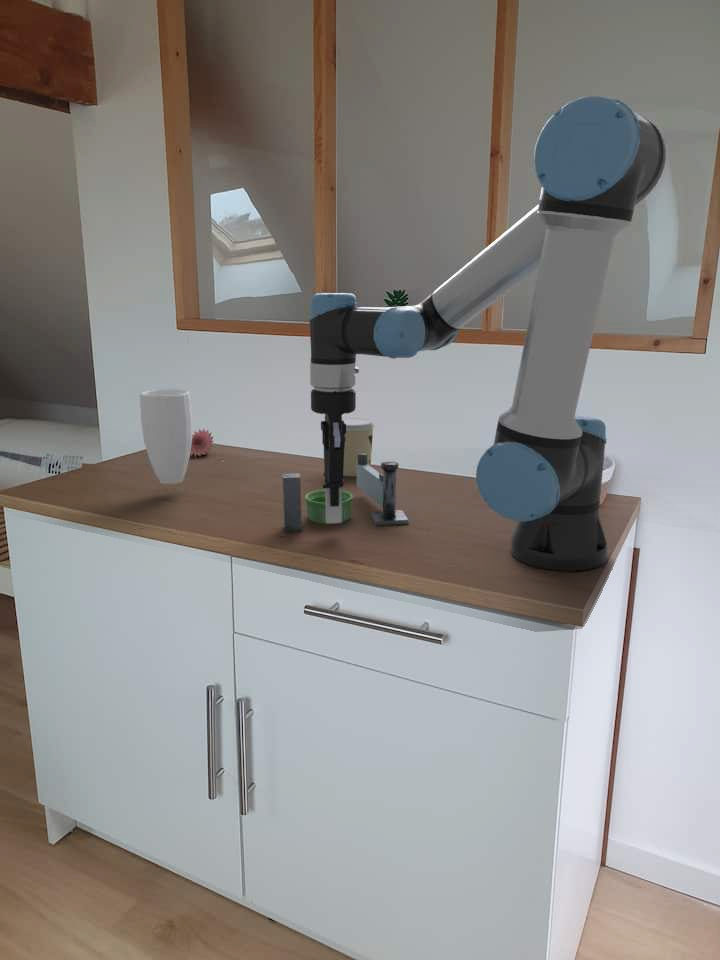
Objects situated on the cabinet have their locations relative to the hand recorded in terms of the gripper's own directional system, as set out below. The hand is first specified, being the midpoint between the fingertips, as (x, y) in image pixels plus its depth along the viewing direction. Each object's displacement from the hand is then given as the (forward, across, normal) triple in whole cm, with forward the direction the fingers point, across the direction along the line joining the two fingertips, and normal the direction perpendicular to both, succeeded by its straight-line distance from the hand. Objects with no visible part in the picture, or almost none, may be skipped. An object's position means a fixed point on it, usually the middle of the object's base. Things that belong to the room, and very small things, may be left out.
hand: (333, 521), depth 130 cm
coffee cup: (+3, +43, -9) cm, 44 cm away
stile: (+3, +4, +7) cm, 8 cm away
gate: (0, +16, -10) cm, 19 cm away
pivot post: (+2, +7, -11) cm, 13 cm away
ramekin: (+3, +10, 0) cm, 10 cm away
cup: (+3, +30, +31) cm, 43 cm away
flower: (+3, +66, +27) cm, 71 cm away
